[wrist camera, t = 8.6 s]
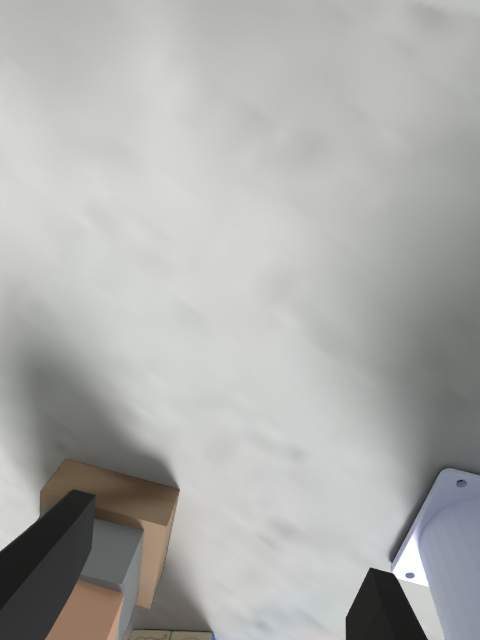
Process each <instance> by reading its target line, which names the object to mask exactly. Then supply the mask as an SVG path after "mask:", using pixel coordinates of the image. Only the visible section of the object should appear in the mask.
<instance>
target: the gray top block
mask: <svg viewBox="0 0 480 640" xmlns="http://www.w3.org/2000/svg"><path fill="white" fill-rule="evenodd" d="M50 509H51V508H48V507H46V508H45V510H44V511H43V513H42V514H41V515H40V517H39V518H41V517H42V516H43V515H44V514H45V513H46V512H47V511H48V510H50ZM39 518H38V519H39ZM143 539H144V530H142V529H137V528H133V527H129V526H125V525H120V524H116V523H112V522H108V521H103V520H99V519H95V518H94V526H93V538H92V549H91V552H90V554H89V556H88V558H87V561H86V563H85V565H84V567H83V570H82V572H81V574H80V576H79V578H78V580H81V581H84V582H87V583H90V584H93V585H97V586H100V587H103V588H106V589H110V590H113V591H116V592H119V593H123V594H125V595H124V600H123V605H122V609H121V614H120V618H119V623H118V628H117V632H116V637H115V640H123V637H124V635H125V632H126V629H127V626H128V624H129V621H130V618H131V615H132V613H133V610H134V607H135V604H136V602H137V599H138V594H139V583H140V572H141V561H142V550H143Z"/></svg>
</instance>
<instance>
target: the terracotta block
mask: <svg viewBox="0 0 480 640" xmlns="http://www.w3.org/2000/svg"><path fill="white" fill-rule="evenodd" d="M124 595H125V594H123V593H119V592H116V591H113V590H110V589H106V588H103V587H100V586H97V585H93V584H90V583H87V582H84V581H81V580H78V581H77V583H76V585H75V587H74V589H73V591H72V593H71V595H70V597H69V599H68V600H67V602H66V604H65V606H64V608H63V609H62V611H61V613H60V615H59V616H58V618H57V620H56V622H55V623H54V625H53V627H52V629H51V630H50V632H49V634H48V636H47V637H46V639H45V640H115V637H116V632H117V628H118V623H119V618H120V614H121V609H122V605H123V600H124Z"/></svg>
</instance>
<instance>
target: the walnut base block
mask: <svg viewBox="0 0 480 640" xmlns="http://www.w3.org/2000/svg"><path fill="white" fill-rule="evenodd" d="M73 489H75V490H79V491H83V492H87V493H91V494H94V495H96V502H95V514H94V518H95V519H99V520H103V521H108V522H112V523H116V524H120V525H125V526H129V527H133V528H137V529H142V530H144V539H143V550H142V561H141V572H140V583H139V594H138V599H137V602H136V604H135V605H137V606H140V607H144V608H147V609H150V608H151V605H152V602H153V599H154V596H155V593H156V590H157V587H158V583H159V580H160V577H161V574H162V571H163V568H164V563H165V558H166V554H167V549H168V544H169V539H170V534H171V530H172V525H173V520H174V515H175V511H176V506H177V501H178V496H179V492H180V490H179V489H175V488H172V487H168V486H164V485H161V484H157V483H153V482H150V481H146V480H142V479H138V478H135V477H131V476H127V475H124V474H120V473H116V472H113V471H109V470H105V469H102V468H98V467H94V466H90V465H87V464H83V463H79V462H76V461H72V460H68V459H65V461H64V462H63V463H62V464H61V466H60V467H59V468H58V470H57V471H56V472H55V473H54V475H53V476H52V477H51V479H50V480H49V481H48V483H47V484H46V485H45V486H44V488H43V489H42V490H41V492H40V515H41V514H42V513H43V511H44V510H45V508H46V507H48V508H52V507H53V506H54V505H55V504H56V503H57V502H58V501H59V500H61V499H62V498H63V497H64V496H65V495H66V494H67V493H68V492H69V491H71V490H73Z"/></svg>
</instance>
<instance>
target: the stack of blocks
mask: <svg viewBox="0 0 480 640" xmlns="http://www.w3.org/2000/svg"><path fill="white" fill-rule="evenodd" d="M129 640H215V639H214V635H213V633H209V632H184V631H173V632H171V631H162V630H133V631H132V633H131V636H130V639H129Z"/></svg>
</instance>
